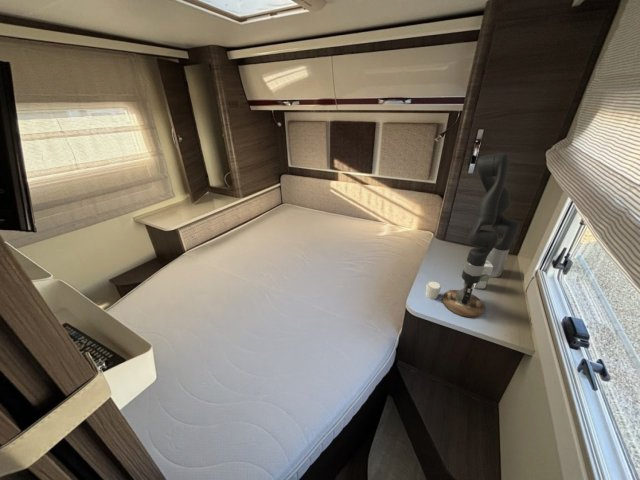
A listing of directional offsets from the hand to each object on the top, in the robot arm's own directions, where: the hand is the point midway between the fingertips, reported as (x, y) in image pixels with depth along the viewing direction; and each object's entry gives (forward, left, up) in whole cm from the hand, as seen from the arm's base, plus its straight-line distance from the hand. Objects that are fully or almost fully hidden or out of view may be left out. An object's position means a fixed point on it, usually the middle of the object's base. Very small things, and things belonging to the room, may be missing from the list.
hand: (464, 298), depth 126 cm
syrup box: (-18, -9, -4) cm, 20 cm away
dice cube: (0, -1, -3) cm, 3 cm away
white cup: (+10, -10, -4) cm, 15 cm away
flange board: (0, 0, -4) cm, 4 cm away
